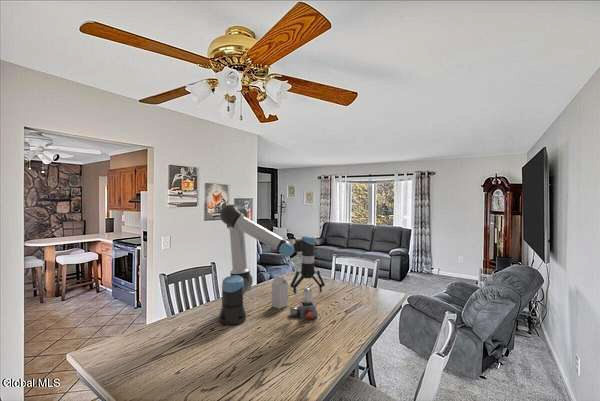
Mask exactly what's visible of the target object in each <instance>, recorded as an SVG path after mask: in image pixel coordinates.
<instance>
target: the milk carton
mask: <svg viewBox="0 0 600 401" xmlns="http://www.w3.org/2000/svg"><path fill="white" fill-rule="evenodd" d="M287 306H288V281H287V280H286V279H285V277H284V276H279V275H275V277H274V279H273V280H272V282H271V307H273V308H276V309H279V310H280V309H283V308H285V307H287Z"/></svg>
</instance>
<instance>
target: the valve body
mask: <svg viewBox="0 0 600 401" xmlns="http://www.w3.org/2000/svg"><path fill="white" fill-rule="evenodd" d="M316 307H317V306H316V303H315V304H314V301H313V300H311V306H304V301H299V306H297V307H289V308H290V309H289V315H290V317H297V316H298V317H299V319H306V320H308V321H311V320H313V319H316V318H318V310H317V308H316Z"/></svg>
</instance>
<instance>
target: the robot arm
mask: <svg viewBox="0 0 600 401" xmlns="http://www.w3.org/2000/svg"><path fill="white" fill-rule="evenodd" d="M219 215H220V216H219V217H220V220H221V221H222V223H223V224H225V225H226V228H227V229H228V230H229V239H230V251H231V263H232V264H231V266H232V269H231V271H230V275H229V276H227V277H225V278H223V279H222V283H221V308H220V311H219V314H218V323H219V324H221V325H224V326H236V325H240V324H243V323H244V322H245V321H246V320H247V313H246V309H245V307H244V295H245V294H246V293H247V292H248V291H249V290H250V289H251V287H252V286H253V283H254V282H253V275H252V274H251V270H250V269H249V268H248V264H247V253H246V252H247V250H246V241H245V240H246V239H245V238H246V236H245V234H246V235H248V236H250V237H251V238H253V239H255V240H257V241H259V242H260V243H262V244H263V245H266V246H268V247H270V248H271V249H274V250H275V251H277V252H278V253H279V254H280V255H281V257H284V258H289V257H291V256H293V255H294V253H301V269H300V270H298V269H297V270H296V271H295V275H294V276H293V279H292V280H291V283H290V287H291V288H293V294H294V299H295V300H296V301H297V300H298V286H300V285H299V284H300V283H302V281H303V280H304V279H307V280H308V279H313V280H314V282H316V284H317V285H318V286H317V299H321V293H322V291H323V287H325V285H326V284H325V283H324V280H323V278H322V276H321V272H320V270H319V269H317V270H315V248H316V247H315V244H316V243H315V237H314V236H313V235H303V236H302V237H301V239H297V238H283V237H281V236H280V235H277V234H276V233H274V232H272V231H271V230H269V229H268V228H265V227H263V226H262V225H260V224H258V223H256V222H255V221H253V220H251V219H249V218H248V210H247V208H246V207H245V206H244V205H241V204H227V205H224V206H223V207H222V208H221V211H220V213H219ZM300 274H301V275H300ZM315 274H316V275H317V277H318V279H319V281H318V279H317V278H316V277H315V276H314V275H315ZM299 275H300V277H299ZM297 279H298V280H297Z"/></svg>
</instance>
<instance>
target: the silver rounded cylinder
mask: <svg viewBox="0 0 600 401" xmlns="http://www.w3.org/2000/svg"><path fill="white" fill-rule="evenodd" d="M311 301H312V287H304V288H303V302H304V306H311Z"/></svg>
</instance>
